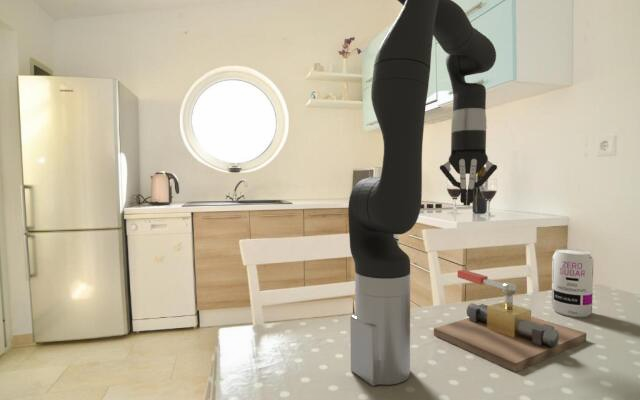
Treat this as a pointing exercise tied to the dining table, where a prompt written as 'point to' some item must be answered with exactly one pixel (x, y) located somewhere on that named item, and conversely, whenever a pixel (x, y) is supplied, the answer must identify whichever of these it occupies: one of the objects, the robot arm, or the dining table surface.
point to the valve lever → (486, 281)
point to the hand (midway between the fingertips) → (466, 205)
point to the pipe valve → (513, 322)
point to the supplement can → (572, 282)
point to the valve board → (506, 343)
